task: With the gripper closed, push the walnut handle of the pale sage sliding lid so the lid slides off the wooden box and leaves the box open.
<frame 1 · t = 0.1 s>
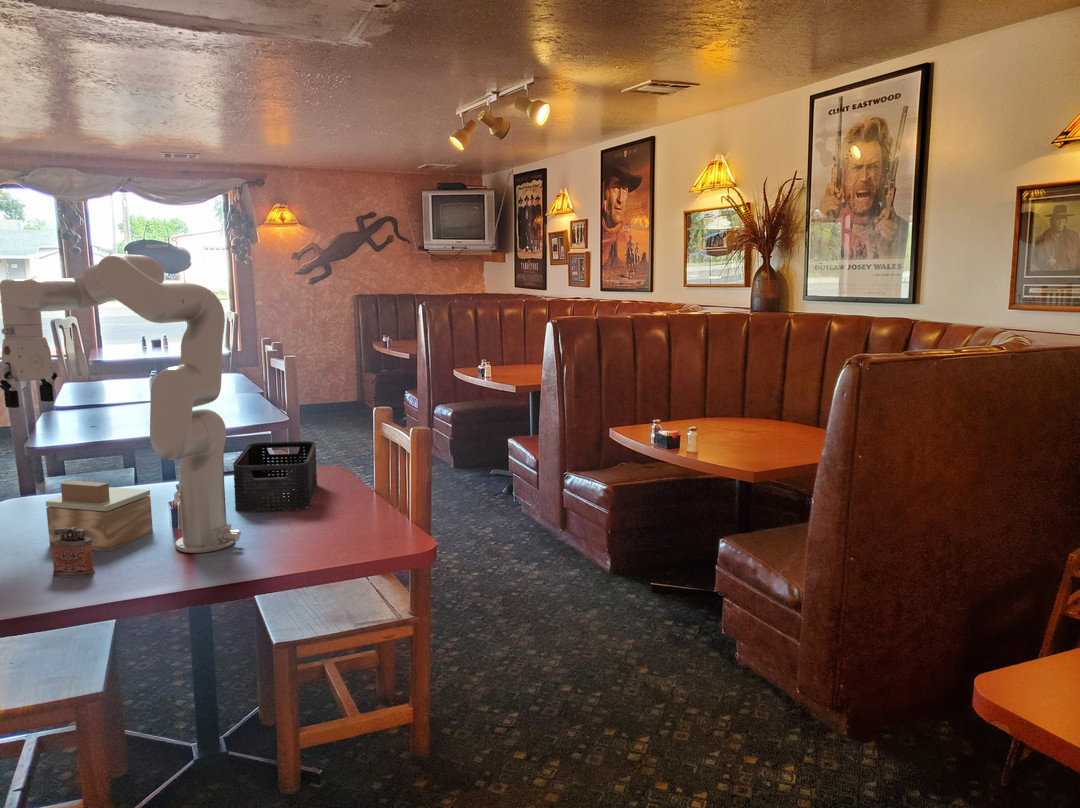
hand: (30, 404, 183), 31 cm above the table, tool pointing down, fingers open, 9 cm apart
wooden box: (102, 538, 182), on the table
storage bin: (278, 498, 218), on the table
lighter: (74, 574, 160), on the table
lid: (98, 489, 180), point 12 cm above the table, slide at 0.0 cm
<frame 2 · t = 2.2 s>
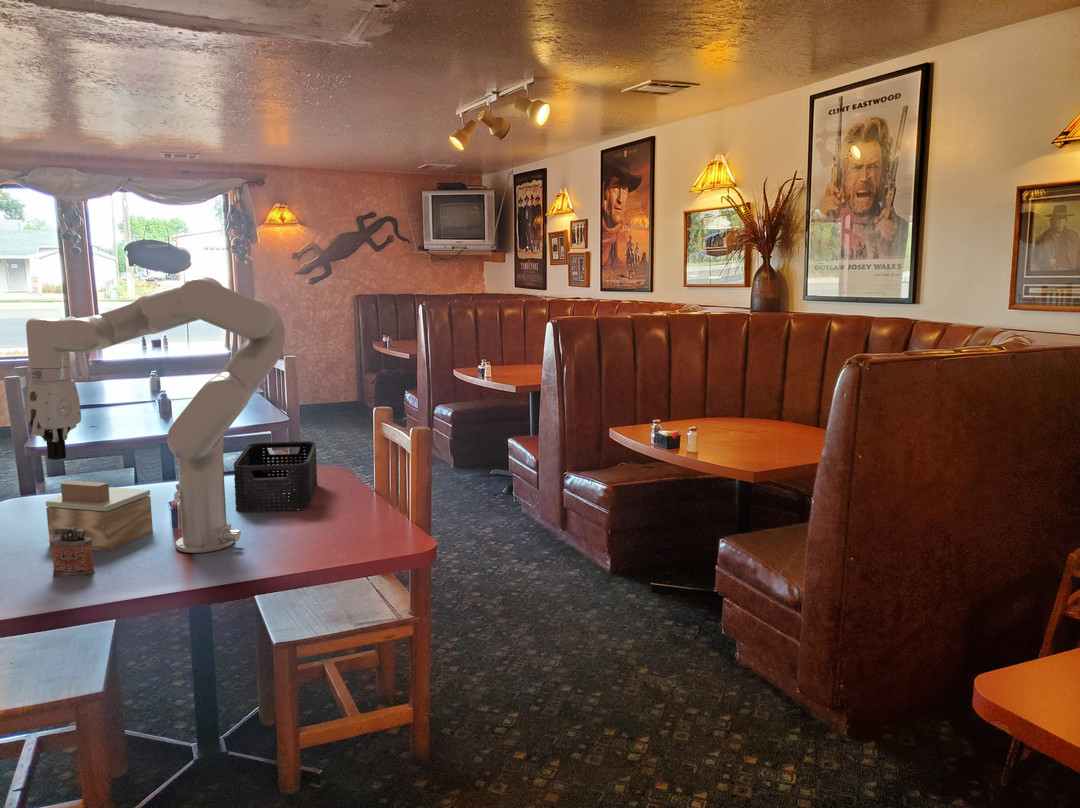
hand: (57, 458, 168), 22 cm above the table, tool pointing down, fingers closed
nothing on the table moved.
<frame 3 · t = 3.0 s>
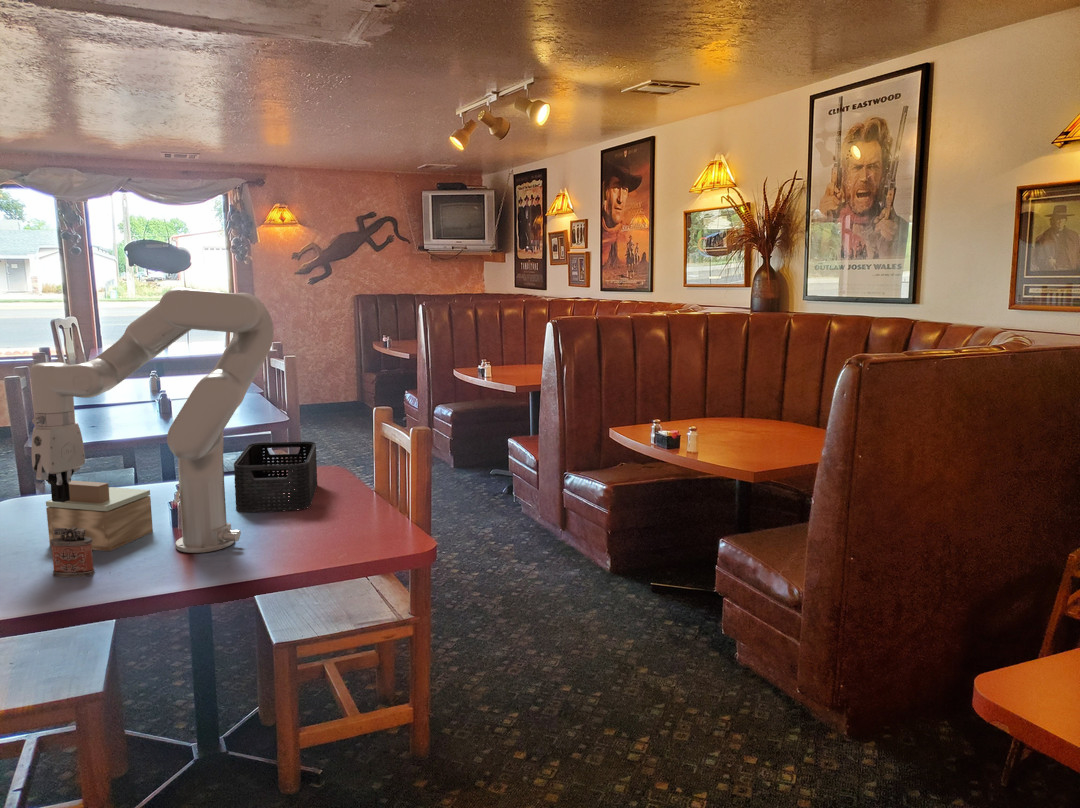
hand: (61, 500, 170), 12 cm above the table, tool pointing down, fingers closed
nothing on the table moved.
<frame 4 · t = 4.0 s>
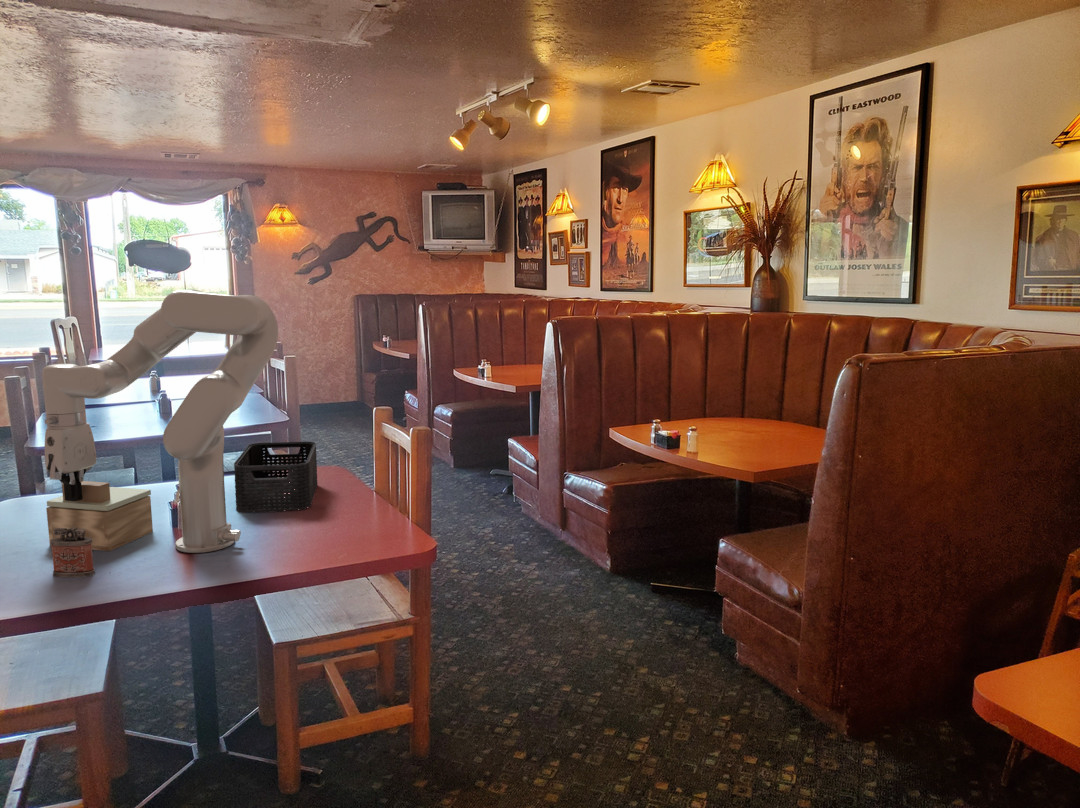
hand: (73, 499, 173), 12 cm above the table, tool pointing down, fingers closed
lid: (99, 489, 180), point 12 cm above the table, slide at 0.3 cm, touching gripper
everything else where it was.
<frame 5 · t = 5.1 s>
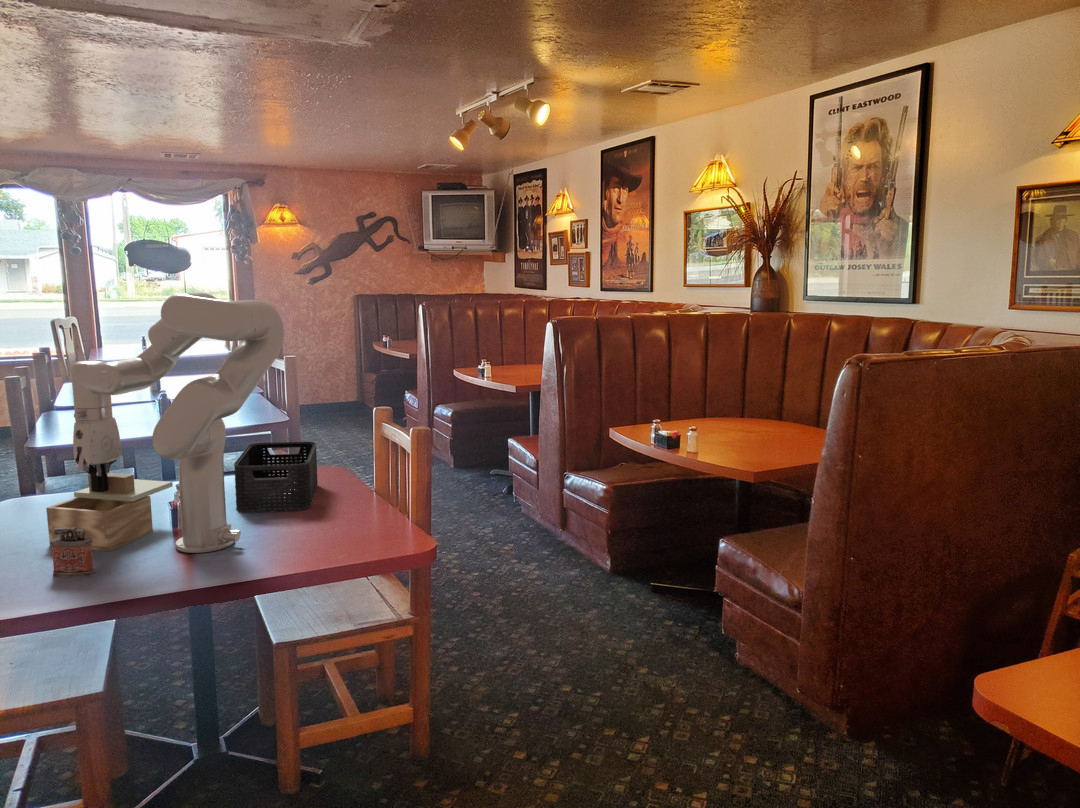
hand: (100, 491, 180), 12 cm above the table, tool pointing down, fingers closed
lid: (124, 481, 188), point 12 cm above the table, slide at 8.1 cm, touching gripper
everything else where it was.
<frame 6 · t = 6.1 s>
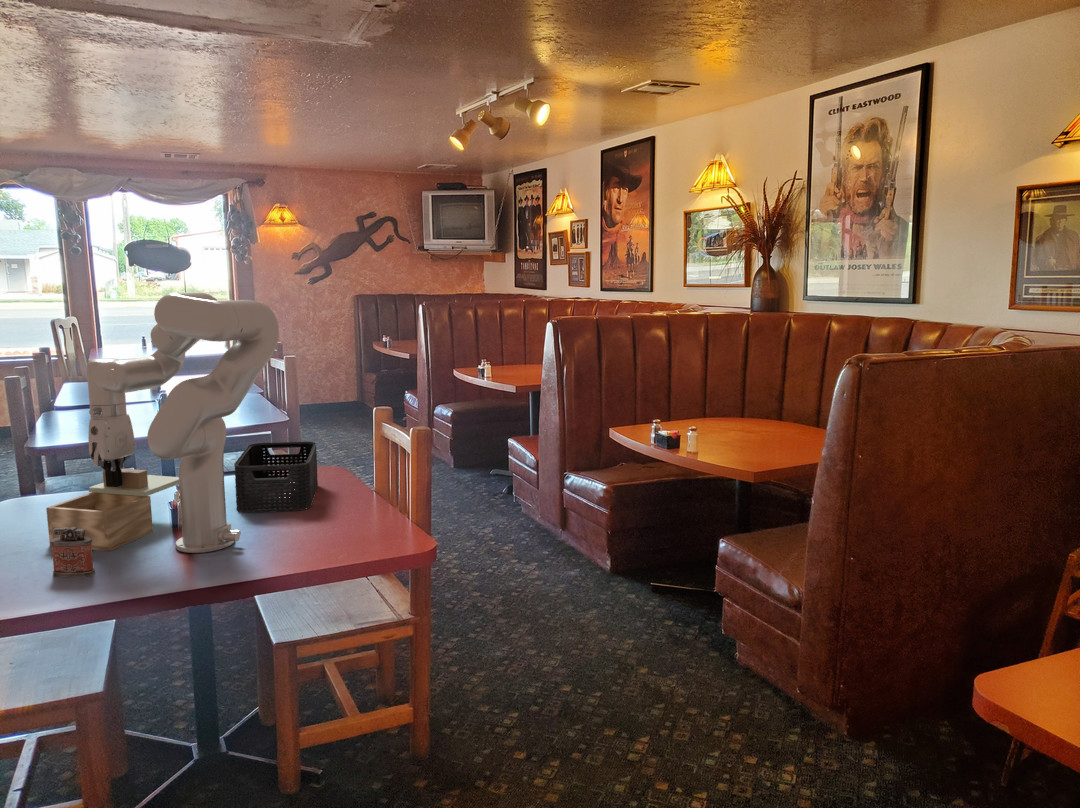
hand: (114, 485, 185), 12 cm above the table, tool pointing down, fingers closed
lid: (137, 476, 192), point 12 cm above the table, slide at 12.6 cm, touching gripper
everything else where it was.
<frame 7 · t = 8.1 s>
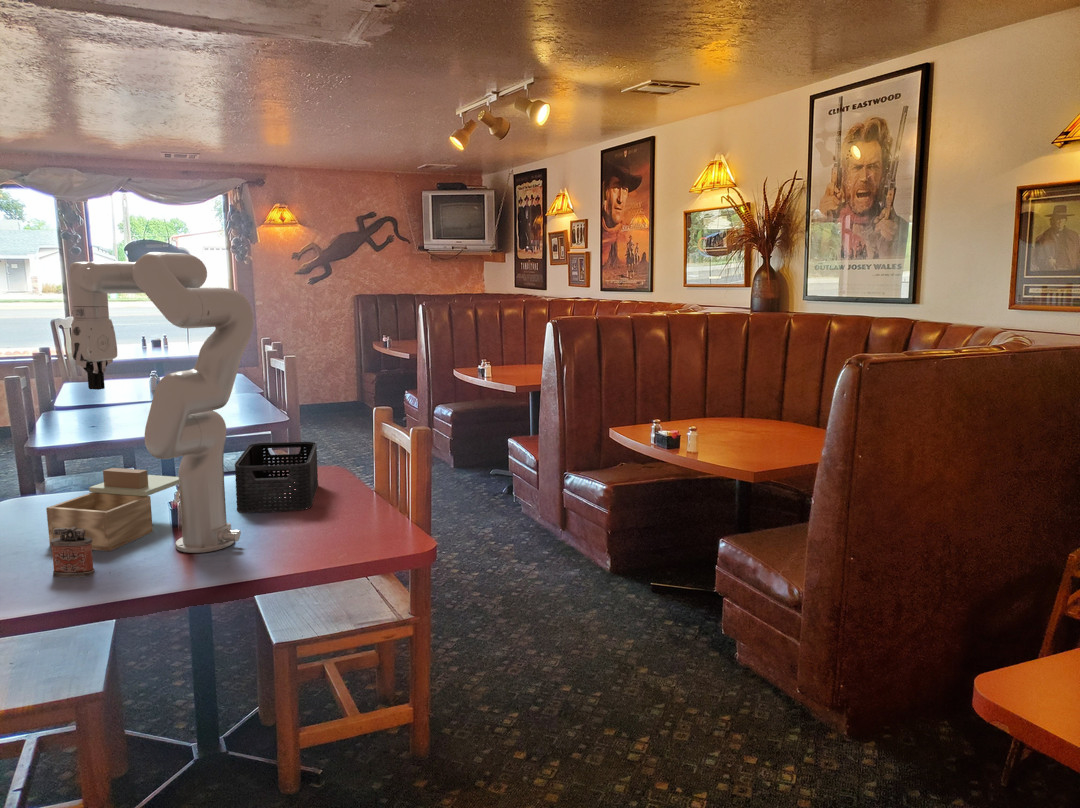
hand: (96, 388, 188), 34 cm above the table, tool pointing down, fingers closed
lid: (137, 476, 192), point 12 cm above the table, slide at 12.7 cm
everything else where it was.
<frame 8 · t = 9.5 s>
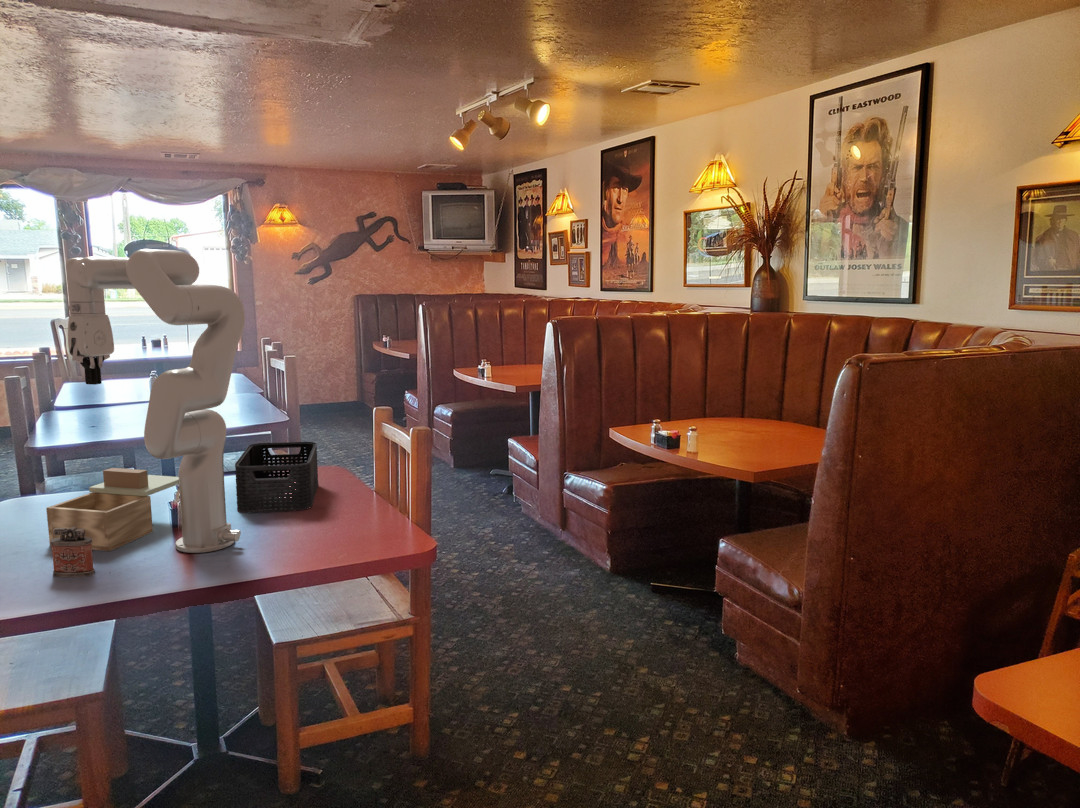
hand: (93, 383, 190), 35 cm above the table, tool pointing down, fingers closed
nothing on the table moved.
at the end: lid slide at 12.7 cm; lighter moved 0.2 cm from its start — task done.
